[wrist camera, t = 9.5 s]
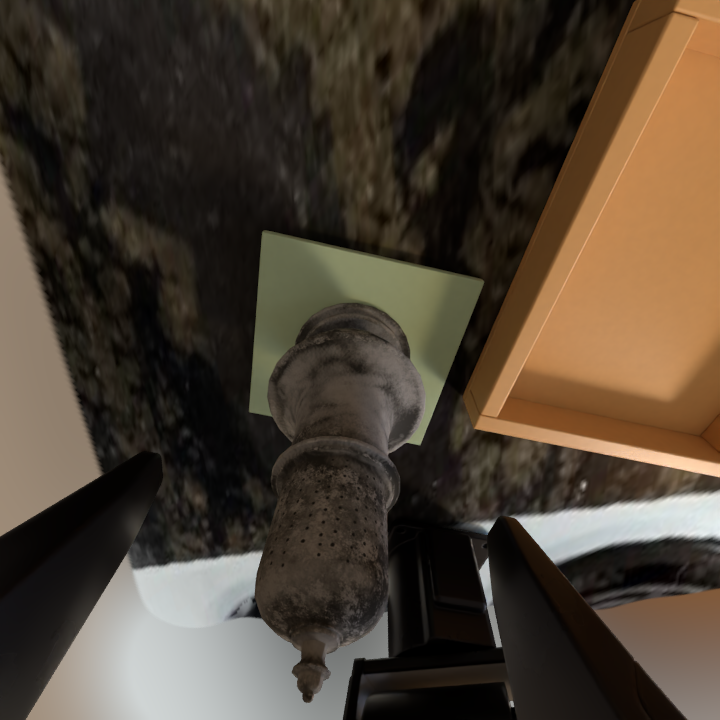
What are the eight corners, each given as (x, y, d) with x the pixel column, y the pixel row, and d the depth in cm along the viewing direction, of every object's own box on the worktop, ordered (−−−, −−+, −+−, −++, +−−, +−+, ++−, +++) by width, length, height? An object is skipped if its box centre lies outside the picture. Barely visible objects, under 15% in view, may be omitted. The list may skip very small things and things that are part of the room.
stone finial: (271, 307, 16) (54, 620, 5) (409, 285, 15) (481, 599, 4) (306, 415, 18) (210, 759, 8) (422, 401, 18) (487, 760, 7)
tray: (697, 444, 19) (737, 481, 17) (461, 396, 18) (472, 429, 16) (1004, 106, 12) (1142, 97, 9) (633, 1, 11) (694, -35, 9)
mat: (419, 440, 19) (420, 445, 19) (251, 407, 19) (248, 412, 18) (482, 278, 15) (484, 281, 15) (264, 229, 14) (261, 231, 14)
